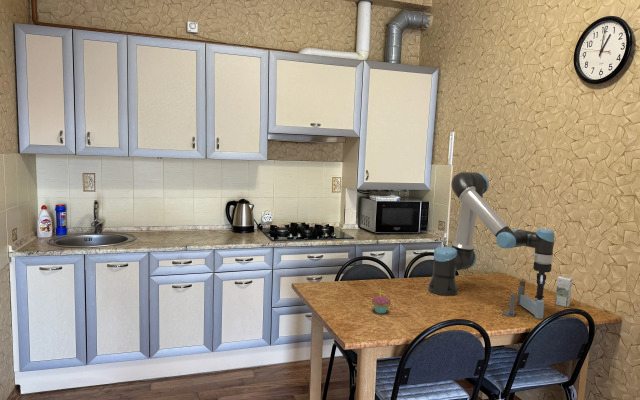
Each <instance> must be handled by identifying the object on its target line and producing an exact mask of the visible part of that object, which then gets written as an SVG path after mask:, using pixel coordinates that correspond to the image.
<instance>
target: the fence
mask: <svg viewBox="0 0 640 400" xmlns="http://www.w3.org/2000/svg"><path fill="white" fill-rule="evenodd" d="M519 286H524V287H525V288H526V280H523V279H520V280H519Z"/></svg>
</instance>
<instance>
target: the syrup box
mask: <svg viewBox="0 0 640 400" xmlns="http://www.w3.org/2000/svg"><path fill="white" fill-rule="evenodd" d="M572 287H573V277H569V276H565V275H559V276H557V281H556V291H555V297H554V298H555V300H554V301H555V302H554V305H555V306H559V307H563V308H568V307H570V304H571V295H572Z"/></svg>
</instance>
